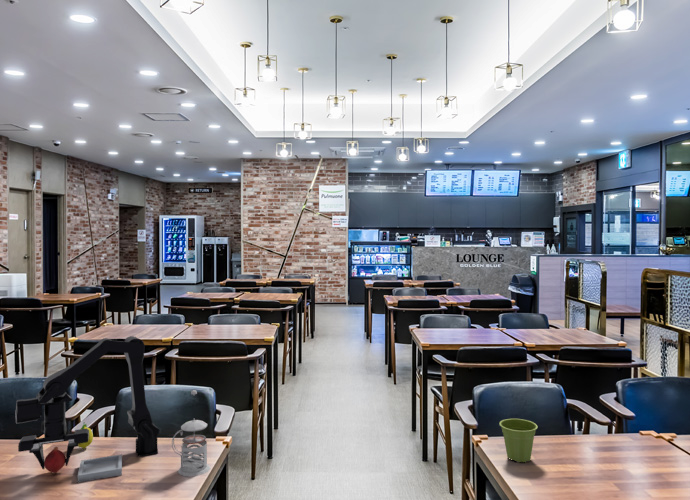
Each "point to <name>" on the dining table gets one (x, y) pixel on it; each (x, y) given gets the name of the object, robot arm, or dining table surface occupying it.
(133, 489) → the dining table surface
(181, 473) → the french press
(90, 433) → the lemon
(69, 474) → the dining table surface
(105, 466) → the dish
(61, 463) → the onion
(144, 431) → the robot arm
